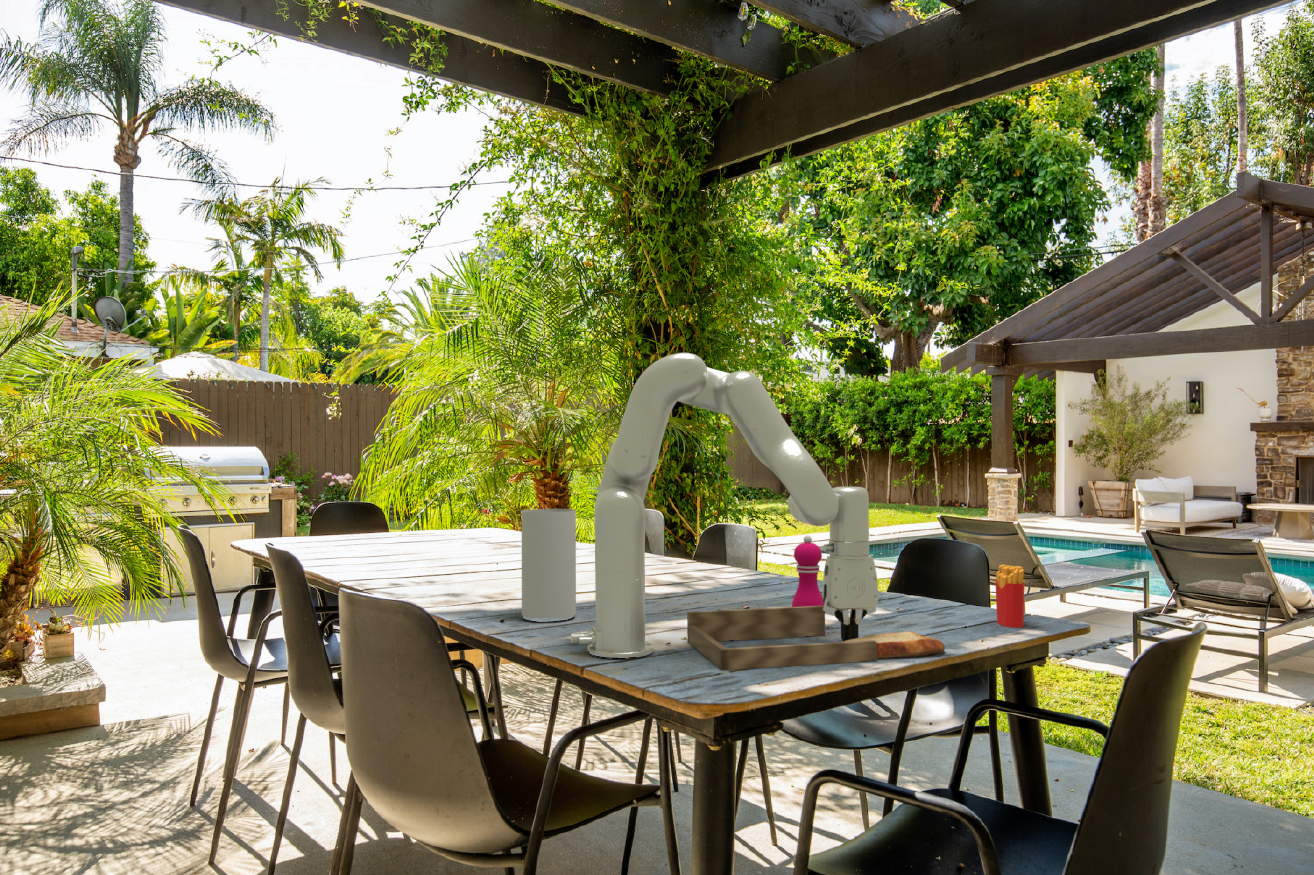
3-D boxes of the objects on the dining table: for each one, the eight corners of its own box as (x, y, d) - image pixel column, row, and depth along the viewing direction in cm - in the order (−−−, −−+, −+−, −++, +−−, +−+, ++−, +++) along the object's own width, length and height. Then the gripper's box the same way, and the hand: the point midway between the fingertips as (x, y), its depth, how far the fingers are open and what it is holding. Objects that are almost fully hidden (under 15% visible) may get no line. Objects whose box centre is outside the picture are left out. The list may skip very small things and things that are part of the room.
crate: (722, 670, 152) (721, 635, 152) (687, 641, 176) (687, 611, 176) (876, 660, 159) (876, 627, 159) (822, 634, 182) (822, 605, 182)
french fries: (992, 621, 196) (991, 563, 196) (1011, 620, 196) (1010, 562, 196) (1010, 629, 187) (1009, 568, 187) (1030, 628, 187) (1029, 568, 187)
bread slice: (828, 657, 162) (827, 637, 162) (858, 639, 177) (858, 621, 177) (926, 669, 152) (926, 647, 152) (950, 649, 168) (949, 630, 168)
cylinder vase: (556, 611, 212) (556, 508, 212) (586, 618, 202) (586, 510, 203) (511, 617, 204) (511, 510, 204) (540, 625, 194) (540, 512, 195)
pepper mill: (825, 631, 186) (824, 537, 186) (791, 630, 187) (790, 536, 188) (825, 624, 193) (824, 534, 193) (792, 623, 194) (791, 533, 195)
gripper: (821, 552, 166) (821, 649, 165) (893, 550, 169) (894, 646, 169) (806, 548, 173) (806, 641, 173) (875, 547, 176) (876, 638, 176)
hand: (849, 643), depth 171 cm, fingers closed
